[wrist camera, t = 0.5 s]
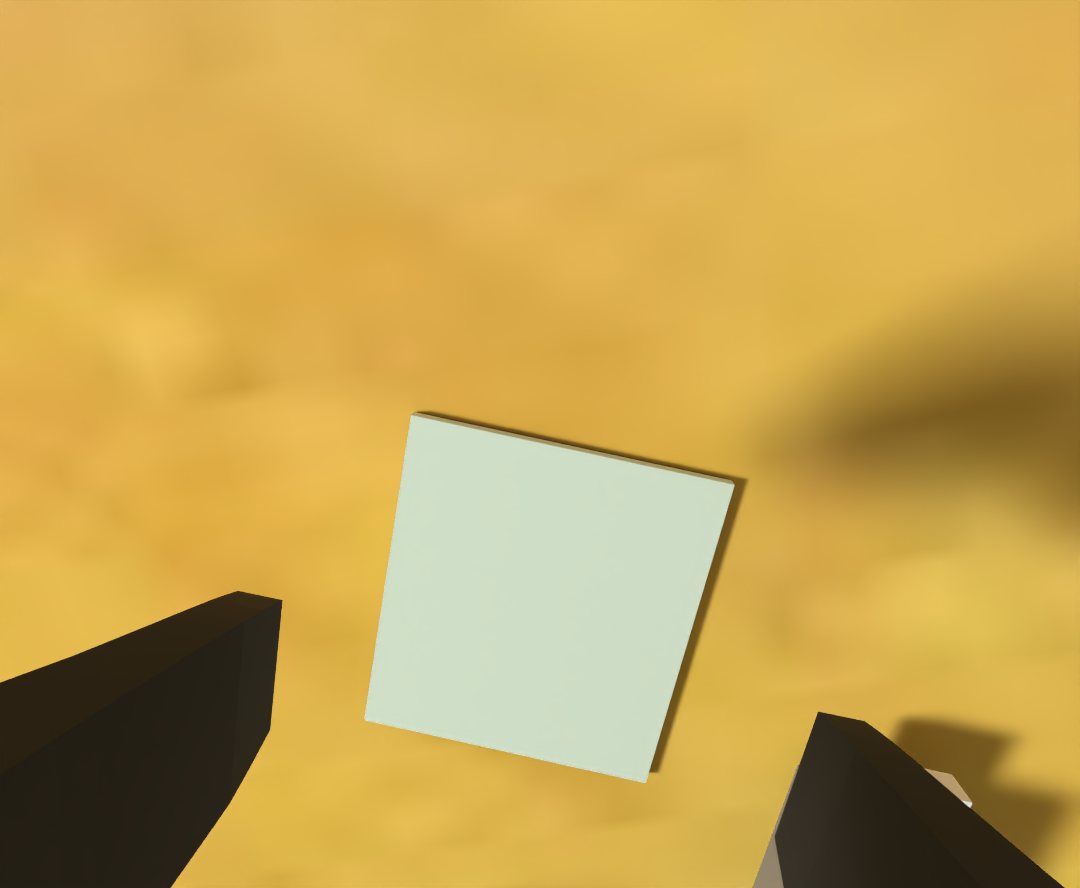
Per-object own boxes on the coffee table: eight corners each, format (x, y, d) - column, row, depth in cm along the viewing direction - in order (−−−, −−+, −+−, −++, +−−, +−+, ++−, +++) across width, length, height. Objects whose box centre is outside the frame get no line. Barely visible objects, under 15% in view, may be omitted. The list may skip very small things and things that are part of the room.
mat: (644, 773, 21) (645, 783, 20) (368, 711, 21) (364, 720, 20) (731, 480, 18) (735, 484, 18) (415, 412, 18) (411, 415, 18)
